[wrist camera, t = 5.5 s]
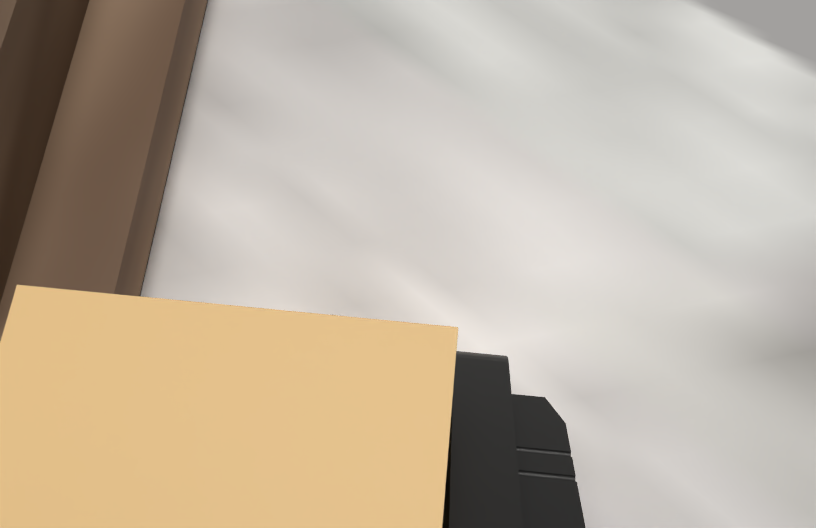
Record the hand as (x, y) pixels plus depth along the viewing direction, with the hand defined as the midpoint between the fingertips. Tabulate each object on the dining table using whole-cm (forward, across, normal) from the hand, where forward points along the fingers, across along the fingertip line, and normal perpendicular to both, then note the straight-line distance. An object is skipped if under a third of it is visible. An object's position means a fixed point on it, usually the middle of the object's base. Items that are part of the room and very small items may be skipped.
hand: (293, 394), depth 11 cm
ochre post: (+2, 0, +4) cm, 5 cm away
